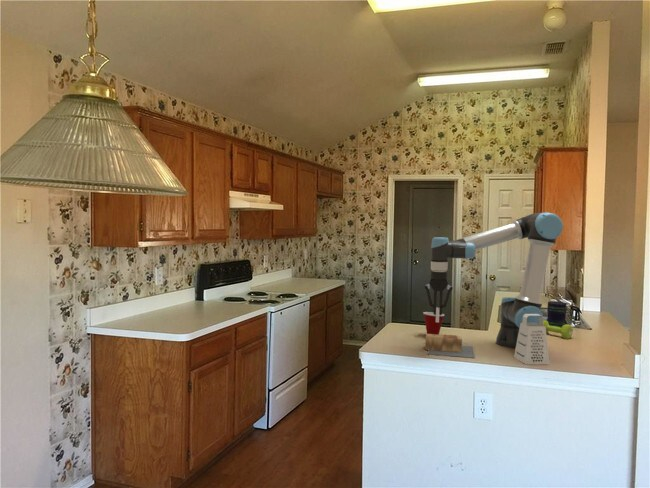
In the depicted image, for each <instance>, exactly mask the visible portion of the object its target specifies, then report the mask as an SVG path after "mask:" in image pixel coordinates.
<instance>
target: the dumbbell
mask: <svg viewBox="0 0 650 488" xmlns="http://www.w3.org/2000/svg"><path fill="white" fill-rule="evenodd" d="M543 326H545V327H546V334H548V333H549V332H551V333H555V334H560V335H561V337H562V339H565V340H569V339H571V338H572V337H573V330H574V329H573V326H572V325H571V324H567V323H566V325H563V327H562V328H560V327H555V326H550V325H549V323H548V321H547V319H546V320H545V319H543Z"/></svg>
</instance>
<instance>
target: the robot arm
mask: <svg viewBox="0 0 650 488" xmlns="http://www.w3.org/2000/svg"><path fill="white" fill-rule="evenodd" d="M563 230H564V223H563V221H562V219H561V218H560V216H558V214H555V213H552V212H546V211H545V212H534V213H533V212H532V213H529V214H527V215H525V216H522V217H521V218H518V219H514V220H512V222H511V223H509V224H505V225H502V226H498V227H495V228H491V229H488V230H484V231H481V232H479V233H475V234H472V235H468V236H464V237H463V238H458V239H455V240H454V239H452V240H449V238H448V237H443V236H442V237H437V236H436V237H435V236H434V237H433V238H432V240H431V245H430V246H431V247H430V248H431V251H430V252H431V255H430V257H431V258H430V270H431V271H430V276H429V277H430V278H429V279H430V280H429V283H427V284H425V285H424V287H423V288H424V289H425V291H426V294H427V299H428V304H429V306H430V307H432V308H433V314H434V315H436V322H438V323H439V315H442V314H443V308H446V307H447V304H448V301H449V297H450V294H451V291H453V288H454V287H453V286H452V285H450V284H449V282H448V265H449V262H448V260H449V259H461V260H462V259H463V260H464V259H465V260H468V259H470V260H471V259H474V257H475V255H476V251H478V250H481V249H485V248H490V247H492V246H496V245H499V244H502V243H505V242H509V241H512V240H515V239H516V240H522V239H526V238H527V241H528V242H529V243H530V244H529V249H528V254H527V258H526V264H525V269H524V273H523V277H522V282H521V287H520V292H519V294H518V295H517V296H515V297H512V296H511V297H509V296H507V297H506V296H505V297H502V299H501V303H500V305H501V306H500V308H501V309H500V327H499V330H498V332H497V333H498V334H497V335H496V338H495V339H496V341H495V343H496V344H497V345H500V346H501V347H502V346H503V347H509V348H514V349H516V344H517V338H518V333H519V328H520V323H523V315H524V314H539V315H541V316H542V317H543V318H544V314H543V312H542V306H543V302H542V301H541V300H540V299H541V298H540V297H541V293H542V288H543V284H544V279H545V275H546V269H547V265H548V259H549V257H550V251H551V248H552V247H553V246H555V245H556V241H557V238H559V236H561V235H562V232H563ZM430 288H431V289H432V290H433V301H432V295H431V291H430V290H431V289H430ZM446 288H447V290H446ZM444 290H446V291H447V292H446V295H445V299H444V302H443V294H444V293H443V292H444ZM438 292H439V307H437V299H438V298H437V295H438V294H437V293H438ZM527 323H538V324H539V316H530V315H529V316H528V317H527Z"/></svg>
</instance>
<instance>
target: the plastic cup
mask: <svg viewBox="0 0 650 488" xmlns="http://www.w3.org/2000/svg"><path fill="white" fill-rule="evenodd" d="M422 314H423V317H424V323H425V330H426V334H437V335H440V331H441V327H442V324H443V320H444V317H445V314H444V313H442V315H439V323H438V322H436V315H434V314H433V312H432V311H425V312H424V311H423V312H422Z"/></svg>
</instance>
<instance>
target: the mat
mask: <svg viewBox="0 0 650 488" xmlns="http://www.w3.org/2000/svg"><path fill="white" fill-rule="evenodd" d="M474 352H475V351H474V348H473V346H472V345H470V346H469V345H462V351H461V352H450V351H437V350H428V352H427V353H428V356H429V355H431V356H432V355H433V356H441V355H443V357H454V358H455V357H457V358H466V359H468V358H469V359H476V356H475V353H474Z"/></svg>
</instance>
